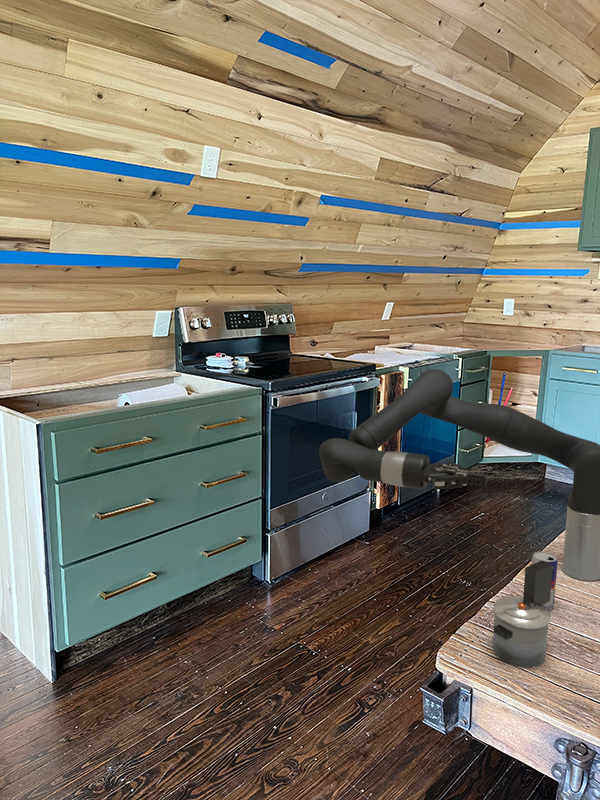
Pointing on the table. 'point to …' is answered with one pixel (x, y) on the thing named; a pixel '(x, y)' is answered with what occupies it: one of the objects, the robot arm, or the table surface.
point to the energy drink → (552, 560)
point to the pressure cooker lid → (528, 600)
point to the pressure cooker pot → (519, 644)
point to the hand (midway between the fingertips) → (486, 481)
